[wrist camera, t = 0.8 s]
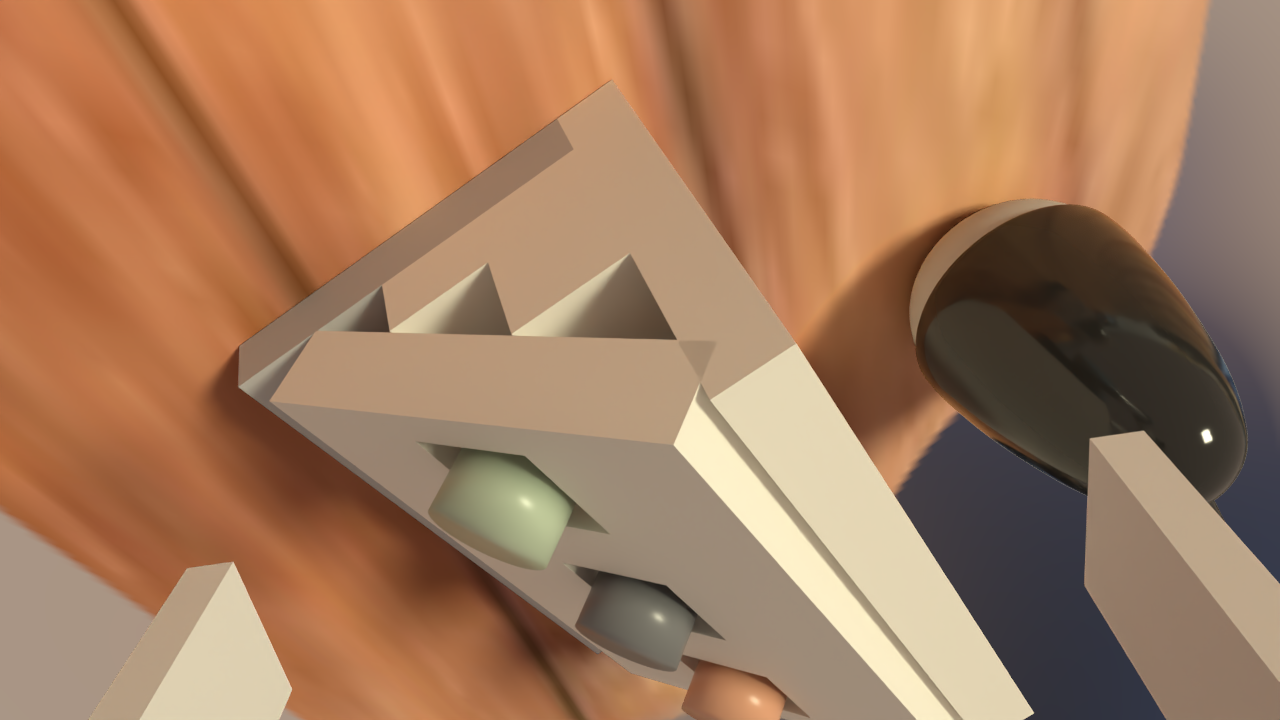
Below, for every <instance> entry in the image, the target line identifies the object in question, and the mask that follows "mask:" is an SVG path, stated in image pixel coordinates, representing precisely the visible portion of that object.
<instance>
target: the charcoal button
mask: <svg viewBox="0 0 1280 720" xmlns="http://www.w3.org/2000/svg"><path fill="white" fill-rule="evenodd" d="M697 615H698V614H697V613H696V612H695V611H694V610H693V609H691V608H690V607H689V606H688V605H687V604H686V603H685V602H684V601H683V600H682V599H680V598H679V597H678V596H677V595H676V594H675V593H674V592H673V591H672V590H671V589H670V588H668V587H667V586H666V585H662V584H658V583H653V582H649V581H644V580H640V579H635V578H631V577H626V576H622V575H617V574H612V573H608V572H603V571H599V572H598V574H597V576H596V578H595V581H594V583H593V585H592V588H591V590H590V592H589V594H588V597H587V599H586V601H585V604H584V606H583V608H582V610H581V613H580V615H579V617H578V620H577V622H576V624H575V627H576V629H577V630H578V631H579V632H580V633H581V634H582V635H583V636H585V637H586V638H588V639H589V640H591V641H592V642H594V643H595V644H597V645H599V646H601V647H602V648H604V649H606V650H608V651H610V652H612V653H614V654H616V655H619V656H621V657H623V658H625V659H628V660H630V661H633V662H635V663H638V664H641V665H644V666H647V667H650V668H653V669H657V670H661V671H668V672H673V671H676V670H677V668H678V665H679V662H680V660H681V657H682V655H683V652H684V649H685V647H686V644H687V641H688V639H689V636H690V634H691V631H692V628H693V626H694V623H695V620H696V618H697Z"/></svg>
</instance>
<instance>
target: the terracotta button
mask: <svg viewBox="0 0 1280 720" xmlns="http://www.w3.org/2000/svg"><path fill="white" fill-rule="evenodd" d="M786 699H787V696H786V695H785V694H784V693H783V692H782V691H781V690H780V689H779V688H778V687H777V686H775V685H774V684H773V683H772V682H771V681H770V680H769V679H768V678H767V677H763V676H760V675H756V674H752V673H749V672H745V671H741V670H738V669H734V668H730V667H727V666H723V665H719V664H715V663H712V662H708V661H704V660H701V659H699V661H698V664H697V667H696V670H695V672H694V675H693V678H692V680H691V683H690V686H689V688H688V691H687V694H686V697H685V699H684V702H683V705H682V709H683V711H684V712H686V713H687V714H688V715H690V716H691V717H693V718H694V719H696V720H780V717H781V714H782V711H783V708H784V705H785V702H786Z"/></svg>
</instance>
